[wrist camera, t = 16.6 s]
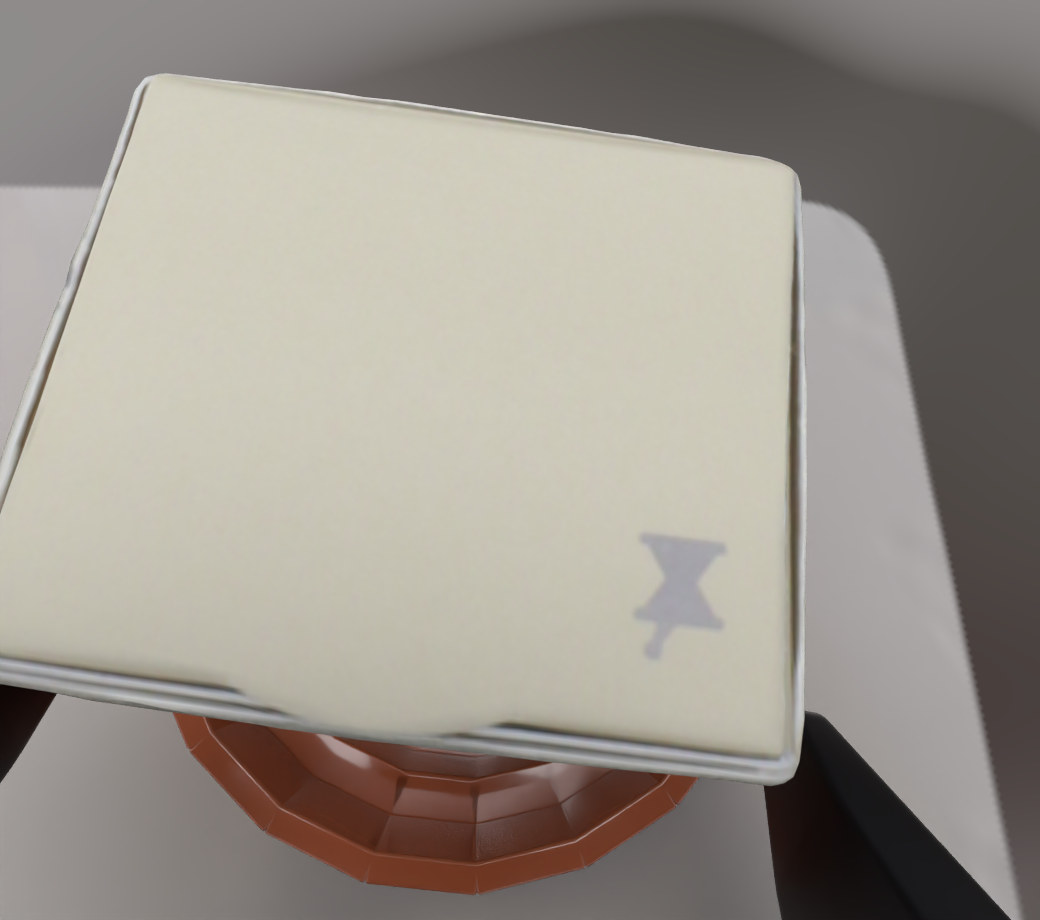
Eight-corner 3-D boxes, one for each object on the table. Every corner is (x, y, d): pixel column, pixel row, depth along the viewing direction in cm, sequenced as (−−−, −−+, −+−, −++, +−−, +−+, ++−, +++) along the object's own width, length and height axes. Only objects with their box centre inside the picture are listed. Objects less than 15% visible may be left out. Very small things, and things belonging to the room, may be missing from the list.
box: (580, 495, 17) (863, 142, 5) (562, 666, 16) (871, 818, 3) (383, 467, 17) (120, 24, 4) (351, 638, 16) (-128, 691, 3)
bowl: (589, 897, 15) (640, 1024, 10) (147, 678, 16) (2, 702, 11) (751, 459, 18) (851, 399, 13) (377, 288, 19) (342, 172, 14)
